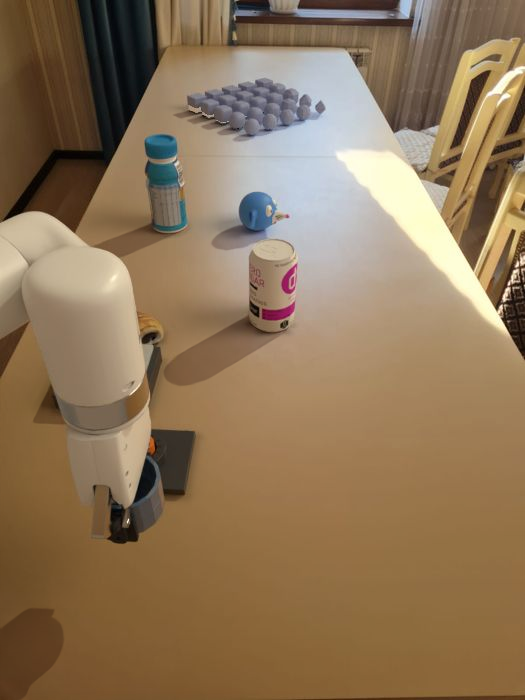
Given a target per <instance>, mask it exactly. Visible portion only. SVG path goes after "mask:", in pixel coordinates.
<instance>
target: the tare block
mask: <svg viewBox="0 0 525 700" xmlns="http://www.w3.org/2000/svg"><path fill="white" fill-rule="evenodd" d="M150 436H151V437H152V438H153V441H154V446H155V451H154V453H153V454H152V455H151V457H152V459H153V460H154V461H155V462H156V464H157V465H158V468H159V472H160V476H161V482H162V487H163V493H164V495H179V496H181V495H182V496H185V495H186V491H187V487H188V481H189V475H190V470H191V464H192V458H193V454H194V449H195V442H196V438H197V437H196V430H181V429H180V430H178V429H161V428H159V429H158V428H151V435H150Z"/></svg>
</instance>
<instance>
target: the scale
mask: <svg viewBox="0 0 525 700" xmlns="http://www.w3.org/2000/svg"><path fill="white" fill-rule="evenodd" d="M142 348H143V354H144V360H145V367H146V373H147V379H148V385H149V391H150V402H149V405H148V408H149V409H150V405H151V402H152V398H153V394H154V391H155V388H156V387H155V386H156V384H157V379H158V376H159V373H160V369H161V366H162V362H163V356H162V349H161V346H154V344H152V345H143V344H142ZM51 398H52V400H53V404H54V405H55V406H54V407H55V408H56V409H57V410H60V408H59V405H58V402H57V399H56V396H55V393H54V391H53V392H52V394H51Z"/></svg>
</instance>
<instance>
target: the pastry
mask: <svg viewBox="0 0 525 700" xmlns="http://www.w3.org/2000/svg"><path fill="white" fill-rule="evenodd" d="M136 312H137V318H138V324H139V330H140V336H141V342H142V344H143V345H154V344H158V343H159V342H161V341H162V340H163V338H164V336H165V330H164V328H163V327H162V325H161V323H160V322H159V321H157V320H156V318H154V317H153V316H150V315H148V314H145V313H144V312H142V311H138V310H136Z"/></svg>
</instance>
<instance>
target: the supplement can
mask: <svg viewBox="0 0 525 700" xmlns="http://www.w3.org/2000/svg"><path fill="white" fill-rule="evenodd" d="M298 263H299V256H298V254H297V252H296V250H295V247H294V245H293V244H292V243H291V242H289V241H287V240H285V239H280V238H265V239H261V240H259V241H257V242H256V243H254V245H253V247H252V249H251V250H250V253H249V255H248V301H249V302H248V316H249V318H248V319H249V322H250V323H251V325H253V326H254V327H255V328H257V329H258V330H260V331H263V332H267V333H279V332H282V331H284V330H286V329H288V328H290V327H291V325H292V324H293V323H294V321H295V315H296V313H295V312H296V297H297V295H296V294H297V282H298Z"/></svg>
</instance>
